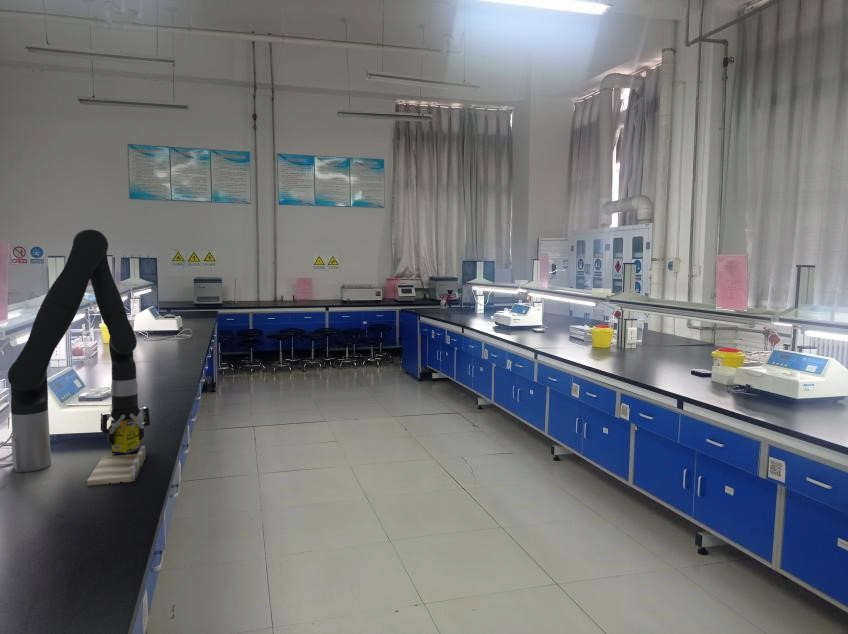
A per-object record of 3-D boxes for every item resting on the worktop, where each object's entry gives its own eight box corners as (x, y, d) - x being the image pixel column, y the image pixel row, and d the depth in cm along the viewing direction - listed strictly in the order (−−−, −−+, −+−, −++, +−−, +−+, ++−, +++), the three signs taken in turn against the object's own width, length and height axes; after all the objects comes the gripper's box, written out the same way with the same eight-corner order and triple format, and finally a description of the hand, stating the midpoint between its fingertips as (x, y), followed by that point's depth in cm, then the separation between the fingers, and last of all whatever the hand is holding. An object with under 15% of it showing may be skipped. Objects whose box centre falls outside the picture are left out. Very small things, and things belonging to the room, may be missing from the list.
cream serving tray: (135, 481, 169) (134, 467, 169) (87, 485, 166) (86, 471, 165) (146, 457, 188) (145, 445, 188) (103, 461, 185) (102, 448, 184)
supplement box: (127, 455, 189) (125, 421, 188) (111, 453, 191) (110, 420, 190) (140, 449, 195) (139, 417, 194) (125, 447, 196) (124, 415, 195)
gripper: (103, 398, 183) (105, 449, 185) (152, 391, 193) (153, 440, 194) (96, 393, 188) (98, 443, 190) (144, 387, 198) (145, 435, 200)
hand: (126, 441), depth 192 cm, fingers closed on supplement box, 8 cm apart
